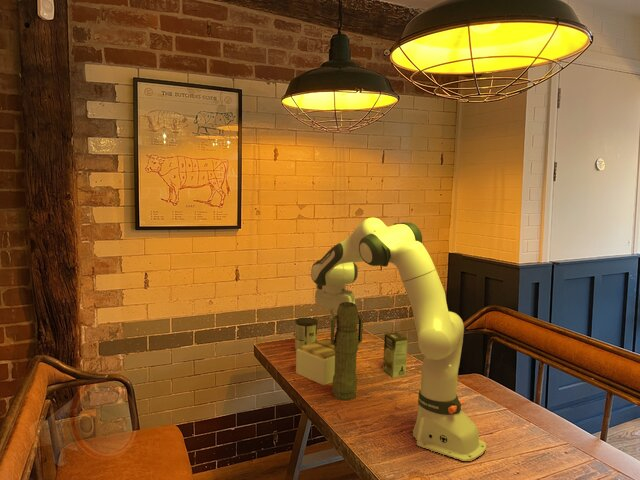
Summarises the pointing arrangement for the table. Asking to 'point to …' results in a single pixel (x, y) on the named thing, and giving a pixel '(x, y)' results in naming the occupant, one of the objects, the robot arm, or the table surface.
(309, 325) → the coffee can
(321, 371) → the display stand
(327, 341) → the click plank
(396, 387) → the table surface
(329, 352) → the laid board
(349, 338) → the thermos
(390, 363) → the coffee box
